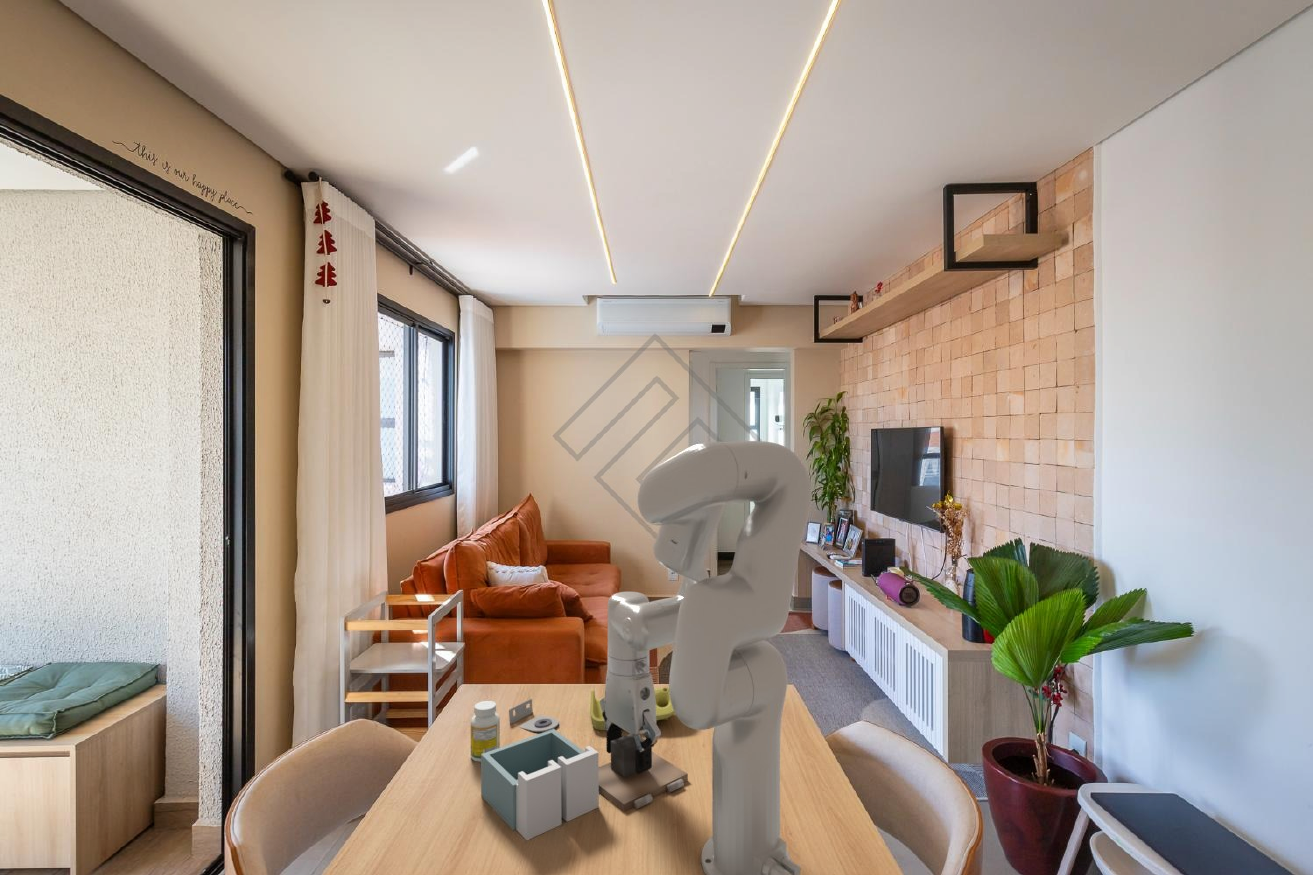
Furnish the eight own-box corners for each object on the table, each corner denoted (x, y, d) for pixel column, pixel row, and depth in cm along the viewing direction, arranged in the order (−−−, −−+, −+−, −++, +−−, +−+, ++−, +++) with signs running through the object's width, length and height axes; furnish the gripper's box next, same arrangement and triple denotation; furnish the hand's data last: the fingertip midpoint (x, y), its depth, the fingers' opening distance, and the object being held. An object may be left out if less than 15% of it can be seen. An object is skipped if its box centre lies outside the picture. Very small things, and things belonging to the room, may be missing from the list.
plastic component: (589, 722, 125) (591, 683, 134) (593, 746, 128) (594, 706, 137) (685, 712, 126) (680, 674, 135) (686, 737, 129) (681, 698, 138)
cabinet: (481, 795, 103) (481, 742, 103) (553, 766, 112) (553, 717, 112) (523, 841, 92) (523, 781, 91) (601, 805, 100) (600, 751, 100)
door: (583, 780, 108) (583, 745, 108) (645, 753, 117) (645, 721, 117) (628, 814, 98) (627, 776, 98) (692, 783, 107) (692, 747, 107)
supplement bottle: (491, 764, 113) (491, 712, 113) (465, 761, 114) (465, 709, 114) (504, 749, 119) (504, 700, 119) (479, 746, 120) (479, 697, 120)
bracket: (543, 737, 124) (543, 720, 124) (508, 725, 129) (508, 709, 129) (565, 725, 129) (565, 708, 129) (531, 713, 135) (530, 698, 135)
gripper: (676, 672, 105) (676, 773, 105) (617, 645, 119) (617, 735, 119) (641, 683, 100) (642, 789, 100) (584, 654, 114) (584, 747, 114)
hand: (628, 759), depth 110 cm, fingers open, 8 cm apart
